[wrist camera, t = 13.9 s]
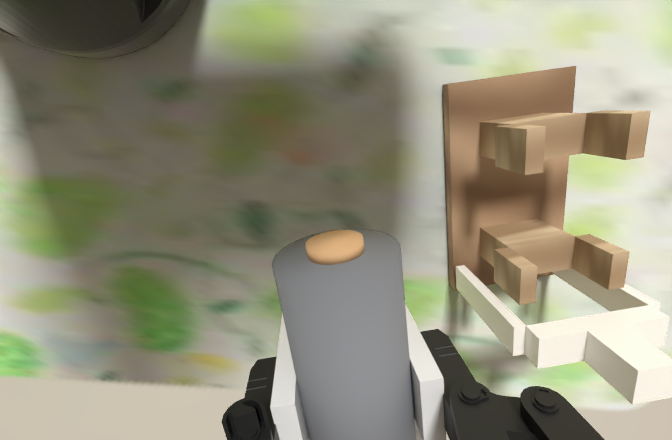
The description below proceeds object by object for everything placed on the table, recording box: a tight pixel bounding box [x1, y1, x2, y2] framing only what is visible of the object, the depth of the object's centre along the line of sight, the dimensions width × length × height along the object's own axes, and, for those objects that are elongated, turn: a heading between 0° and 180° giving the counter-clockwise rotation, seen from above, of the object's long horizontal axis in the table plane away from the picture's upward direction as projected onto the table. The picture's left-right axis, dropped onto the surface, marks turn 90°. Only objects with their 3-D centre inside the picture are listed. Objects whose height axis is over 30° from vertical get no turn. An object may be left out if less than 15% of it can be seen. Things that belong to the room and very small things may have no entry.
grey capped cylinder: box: [272, 229, 416, 440], centre depth 12 cm, size 12×4×4 cm, turn 8°
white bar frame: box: [456, 265, 672, 404], centre depth 22 cm, size 2×9×12 cm, turn 98°
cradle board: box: [443, 66, 650, 305], centre depth 23 cm, size 16×9×8 cm, turn 8°
